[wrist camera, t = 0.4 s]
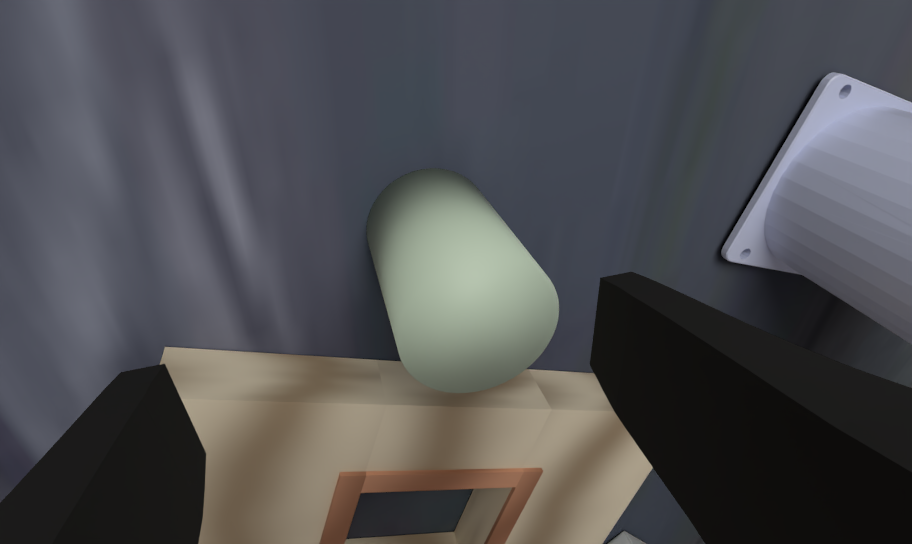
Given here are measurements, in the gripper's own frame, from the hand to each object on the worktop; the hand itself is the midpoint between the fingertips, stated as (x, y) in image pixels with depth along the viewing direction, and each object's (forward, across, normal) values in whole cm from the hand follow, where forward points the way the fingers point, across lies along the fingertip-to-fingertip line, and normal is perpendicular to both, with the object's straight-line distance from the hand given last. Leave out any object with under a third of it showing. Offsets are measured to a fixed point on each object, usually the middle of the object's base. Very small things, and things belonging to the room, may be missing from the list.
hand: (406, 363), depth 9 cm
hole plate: (+10, 0, +17) cm, 19 cm away
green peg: (+10, -2, +2) cm, 10 cm away
